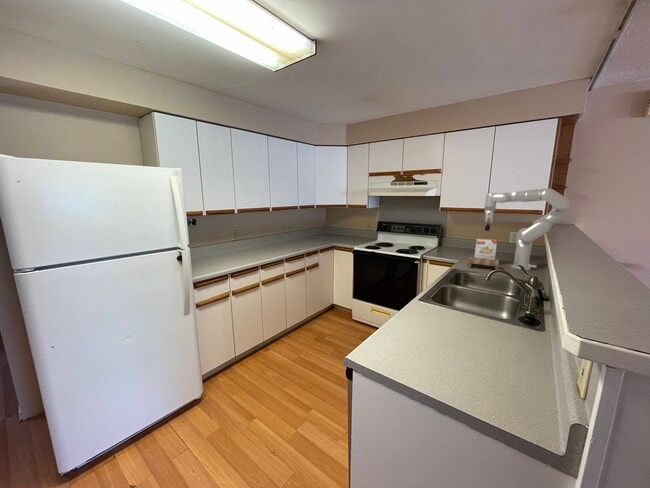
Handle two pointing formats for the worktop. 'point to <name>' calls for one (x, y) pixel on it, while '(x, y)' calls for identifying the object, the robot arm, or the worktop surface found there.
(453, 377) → the worktop surface
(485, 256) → the cracker box
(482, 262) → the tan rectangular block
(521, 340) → the worktop surface
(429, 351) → the worktop surface
